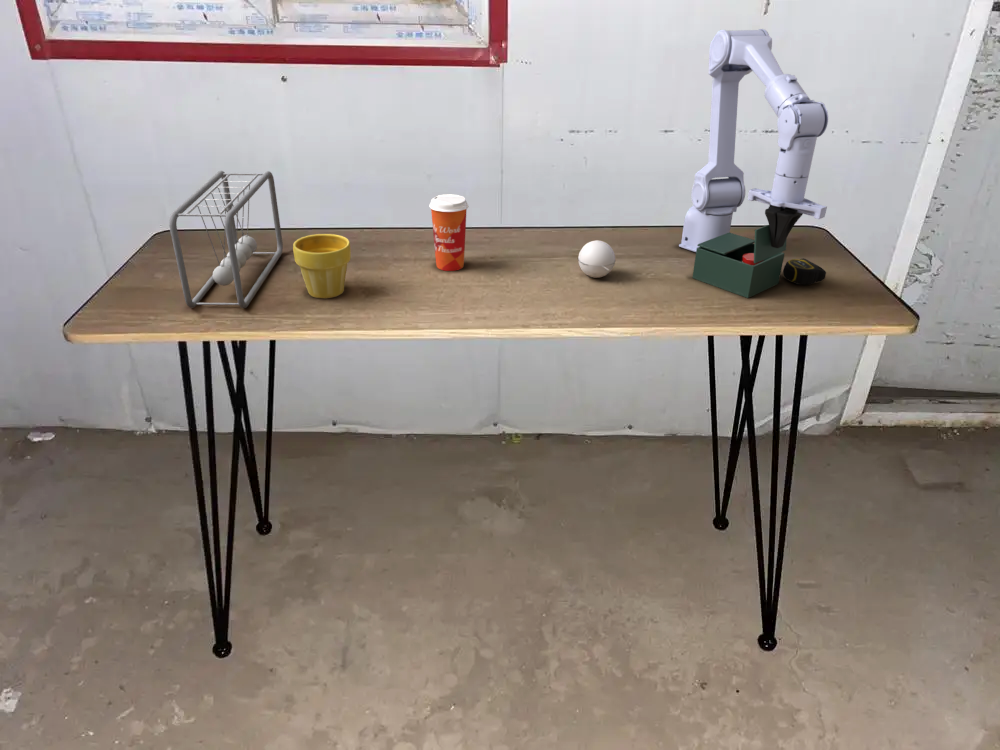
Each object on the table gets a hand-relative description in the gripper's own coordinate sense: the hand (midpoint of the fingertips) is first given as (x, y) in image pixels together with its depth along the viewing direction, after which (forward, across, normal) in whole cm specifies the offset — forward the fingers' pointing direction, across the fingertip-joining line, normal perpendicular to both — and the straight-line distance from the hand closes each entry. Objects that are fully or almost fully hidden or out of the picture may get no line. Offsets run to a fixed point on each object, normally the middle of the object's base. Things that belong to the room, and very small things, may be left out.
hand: (777, 246), depth 144 cm
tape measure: (+10, +1, +10) cm, 14 cm away
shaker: (+9, -4, 0) cm, 10 cm away
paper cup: (+10, -50, -38) cm, 64 cm away
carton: (+9, -7, 0) cm, 12 cm away
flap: (-1, -2, 0) cm, 2 cm away
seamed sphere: (+10, -26, -20) cm, 34 cm away
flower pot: (+10, -55, -64) cm, 85 cm away
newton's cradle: (+10, -71, -74) cm, 103 cm away
